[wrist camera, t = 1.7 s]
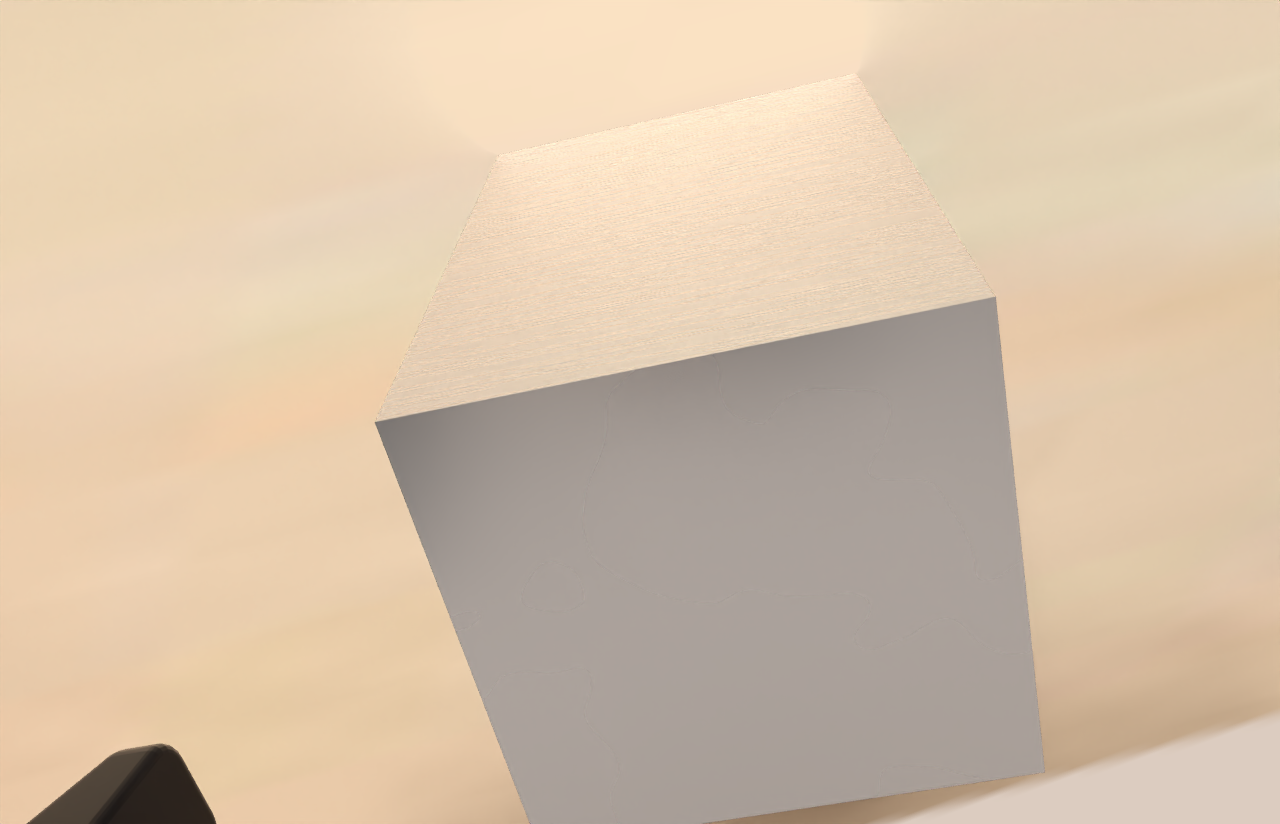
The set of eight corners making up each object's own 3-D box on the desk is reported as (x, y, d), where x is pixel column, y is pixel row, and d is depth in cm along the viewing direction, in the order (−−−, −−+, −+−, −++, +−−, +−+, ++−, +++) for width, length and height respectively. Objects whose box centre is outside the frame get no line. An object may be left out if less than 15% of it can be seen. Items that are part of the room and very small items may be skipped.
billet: (855, 73, 14) (994, 296, 8) (904, 396, 16) (1045, 771, 10) (498, 154, 15) (375, 421, 9) (588, 458, 17) (539, 848, 11)
